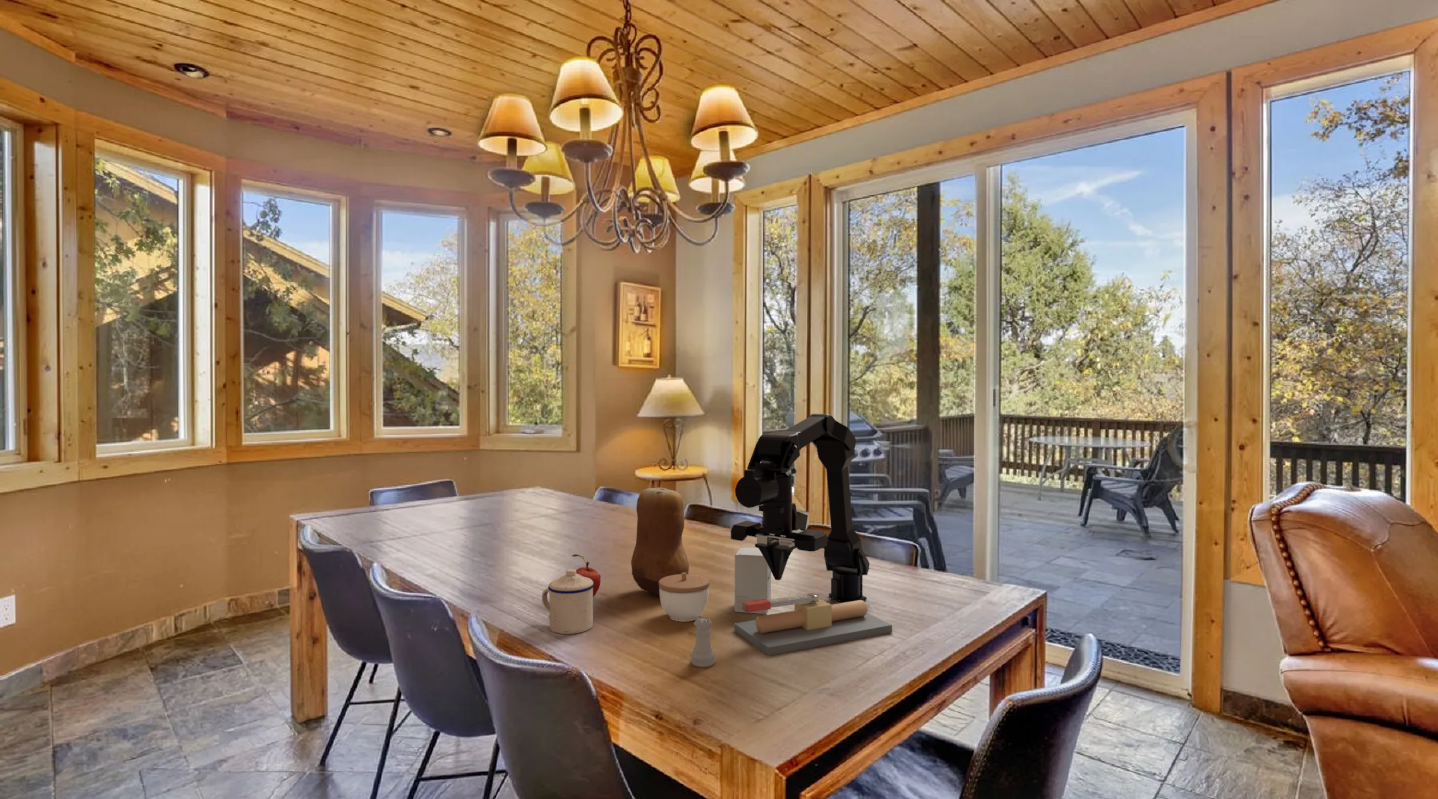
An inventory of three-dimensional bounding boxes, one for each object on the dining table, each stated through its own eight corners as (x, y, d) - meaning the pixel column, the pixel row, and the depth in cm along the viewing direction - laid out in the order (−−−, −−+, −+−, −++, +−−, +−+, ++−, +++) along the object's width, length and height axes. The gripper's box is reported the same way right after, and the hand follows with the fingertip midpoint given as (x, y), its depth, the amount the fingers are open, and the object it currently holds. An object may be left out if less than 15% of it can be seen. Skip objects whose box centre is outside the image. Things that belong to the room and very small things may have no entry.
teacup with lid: (603, 623, 140) (603, 567, 139) (574, 638, 131) (574, 578, 131) (557, 615, 145) (557, 560, 145) (527, 628, 137) (527, 571, 137)
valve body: (850, 611, 147) (850, 583, 147) (892, 632, 134) (892, 601, 134) (734, 630, 135) (734, 599, 135) (768, 655, 123) (768, 621, 123)
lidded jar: (683, 629, 136) (683, 583, 136) (648, 617, 143) (648, 573, 143) (719, 616, 144) (719, 572, 144) (684, 605, 151) (684, 563, 151)
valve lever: (814, 598, 136) (815, 591, 136) (821, 602, 134) (821, 595, 134) (742, 608, 130) (742, 601, 130) (747, 612, 128) (747, 605, 128)
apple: (604, 594, 160) (604, 551, 160) (596, 603, 153) (596, 558, 153) (573, 593, 161) (573, 551, 161) (563, 601, 154) (563, 558, 154)
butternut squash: (695, 586, 166) (694, 484, 165) (680, 603, 152) (680, 493, 152) (640, 583, 168) (640, 483, 168) (622, 599, 155) (622, 491, 155)
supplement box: (767, 614, 145) (767, 556, 145) (733, 612, 147) (733, 554, 146) (771, 604, 152) (771, 548, 152) (739, 602, 154) (739, 546, 154)
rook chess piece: (689, 658, 121) (689, 614, 121) (714, 657, 122) (714, 613, 122) (690, 668, 117) (690, 622, 117) (716, 667, 117) (716, 621, 117)
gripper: (839, 497, 132) (840, 577, 132) (758, 489, 143) (759, 563, 143) (812, 506, 123) (813, 592, 123) (728, 497, 134) (729, 575, 134)
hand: (778, 579), depth 131 cm, fingers closed
